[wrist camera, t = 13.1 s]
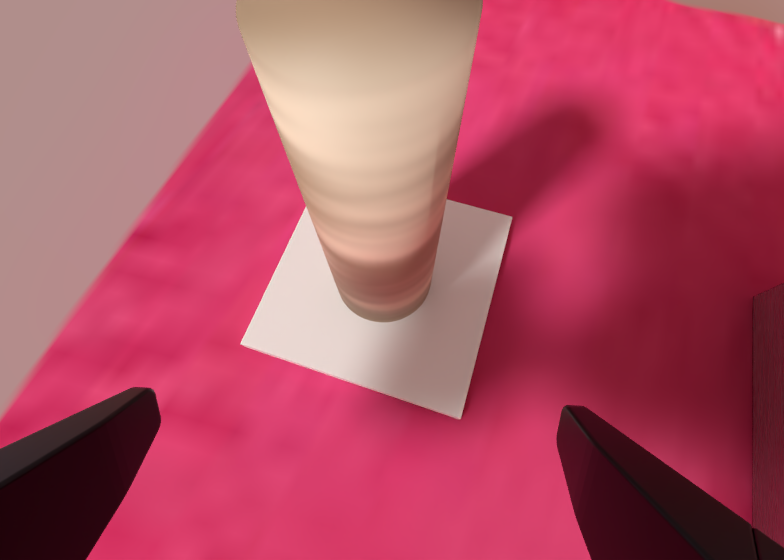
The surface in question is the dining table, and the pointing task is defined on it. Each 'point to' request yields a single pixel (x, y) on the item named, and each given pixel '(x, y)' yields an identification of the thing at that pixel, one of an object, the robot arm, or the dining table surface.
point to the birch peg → (368, 129)
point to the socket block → (768, 413)
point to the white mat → (388, 339)
